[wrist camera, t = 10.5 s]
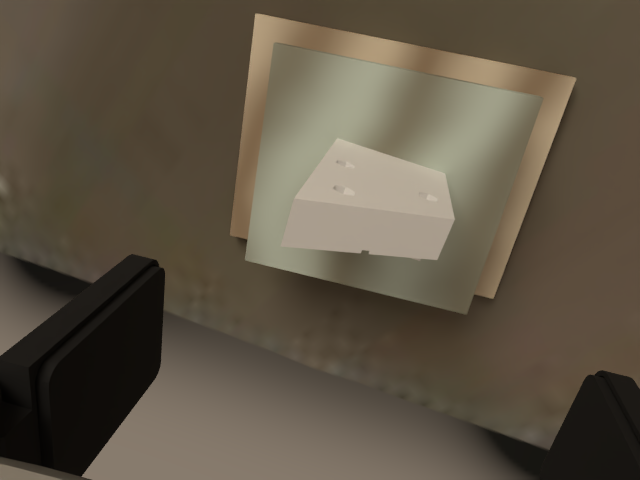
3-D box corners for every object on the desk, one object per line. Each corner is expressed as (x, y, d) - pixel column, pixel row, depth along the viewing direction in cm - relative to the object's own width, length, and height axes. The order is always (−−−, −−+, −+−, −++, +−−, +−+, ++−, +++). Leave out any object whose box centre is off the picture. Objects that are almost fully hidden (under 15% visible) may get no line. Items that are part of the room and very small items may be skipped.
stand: (570, 76, 28) (607, 87, 23) (490, 290, 34) (505, 340, 28) (261, 14, 30) (226, 10, 24) (235, 228, 35) (202, 265, 30)
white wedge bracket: (241, 119, 23) (294, 198, 16) (417, 153, 28) (520, 228, 21) (226, 190, 25) (267, 290, 18) (395, 212, 29) (483, 300, 22)
